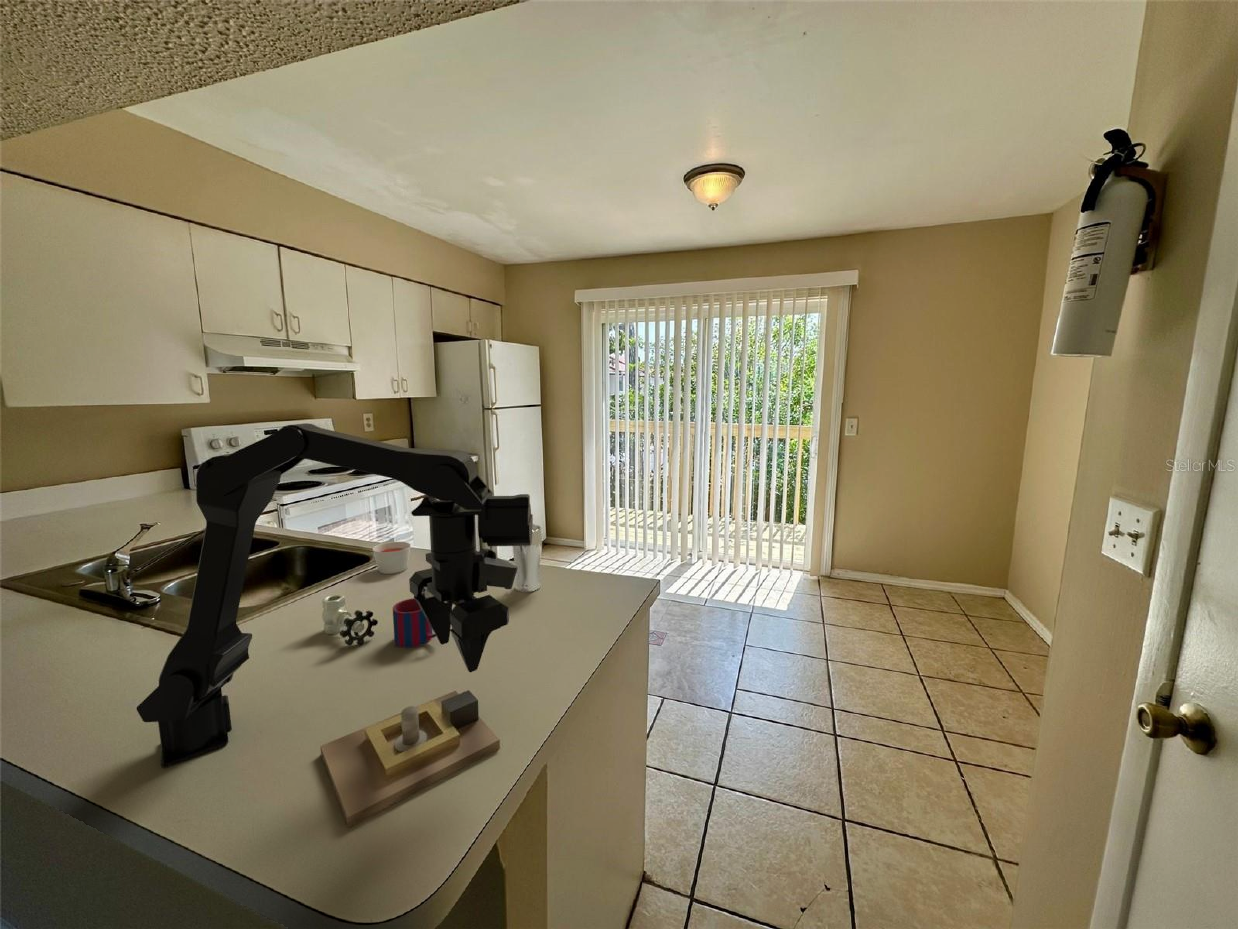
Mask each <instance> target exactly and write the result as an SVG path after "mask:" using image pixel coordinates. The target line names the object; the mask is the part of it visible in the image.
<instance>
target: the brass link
mask: <svg viewBox="0 0 1238 929" xmlns="http://www.w3.org/2000/svg"><path fill="white" fill-rule="evenodd" d="M426 703H427V702H426ZM421 705H422V704H421ZM416 707H417V706H416ZM417 708H418V720H419V724H420V723H422V722H425V721H428V722H429V724H430V725H431V726H432V728H433V729H434V730H435V732H436V733H437V735H438V736H437V737H435V738H433V739H431V740H428V741H426V742H424V743H422V744H420V745H418V746H415V747H413V748H411V749H409V750H407V751H404V752H402V753H400V754H398V755H396V756H395V755H394V753H393V751H392V749H391V748H390V746H389V744H388V742H387V741H386V739H385V738H388V737H390V736H392V735H394V734H397V733H399V732H401V731H402V719H401V714H400V713H399V714H400V715H398V716H395V715H394V716H395V717H393V718H391V719H388V720H386V721H383V720H382V721H383V722H381V723H378V722H377V723H378V724H376V725H373V724H372V725H373V726H371V727H369V728H366V727H365V728H366V729H365V739H366V741H367V743H368V745H369V747H370V749H371V751H372V753H373V755H374V757H375V759H376V761H377V763H378V765H379V767H380V769H381V771H382V773H383V775H384V777H385V779H386V781H387V780H389V779H391V778H393V777H395V776H397V775H399V774H401V773H403V772H405V771H407V770H409V769H411V768H413V767H415V766H418V765H420V764H422V763H424V762H426V761H428V760H430V759H432V758H434V757H436V756H438V755H440V754H442V753H444V752H446V751H448V750H450V749H452V748H454V747H457V746H459V745H460V734H459V733H458V731H457V729H460V728H462V727H464V726H466V725H468V724H470V723H472V722H475V721H477V720H479V717H480V716H479V700H478V698H477V697H476V696H475V695H474V694H473V693H472V692H471V690H468V689H467V690H466V691H463V692H461V693H458V695H456V696H453V697H451V698H448V699H446V700H443V701H441V708H442V711H441V710H440V709H439V707H438V706H437V705H436V704H435V702H434V701H432V702H430V703H427V704H425V705H422V706H420V707H417Z"/></svg>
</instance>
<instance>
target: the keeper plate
mask: <svg viewBox="0 0 1238 929" xmlns="http://www.w3.org/2000/svg"><path fill="white" fill-rule="evenodd" d="M458 694H459V693H458V691H456V690H454V691H451V692H449V693H447V694H443V695H442V696H441V695H440V696H439V697H437V698H434V699H431V700H429V701H427V702H425V703H421V704H420V705H417V706H414V705H413V706H408V707H405V708H404V709H402V710H401V712H400V713H397V714H395V715H393V716H390V717H388V718H386V719H383V720H380V721H378V722H376V723H373V724H371V725H368V726H366V727H364V728H360V729H359V730H356V731H354V732H351V733H348V734H346V735H343V736H341V737H339V738H337V739H334V740H332V741H329V742H327V743H324V744H322V745H320V755H321V758H322V760H323V763H324V766H325V769H326V771H327V774H328V776H329V779H330V782H331V786H332V788H333V790H334V792H335V795H336V798H337V801H338V803H339V806H340V809H341V811H342V813H343V817H344V819H345V823H346V825H347V827H348V828H349V827H351V826H354V825H355V824H357V823H358V824H359V822H361V821H363V820H365V819H366V818H369V817H371V816H373V815H375V814H376V813H379V812H380V811H382V810H384V809H385V808H388V807H390V806H391V804H392V805H393V803H394V802H396V803H397V801H398V802H399V801H401V800H403V799H406V798H407V797H409V796H411V795H412V794H415V793H416V791H417V792H418V791H420V790H422V789H424V788H426V787H428V786H430V785H432V784H434V783H436V782H437V781H438V782H439V780H441V779H443V778H445V777H448V776H449V775H451V774H453V773H454V772H457V771H458V770H461V769H462V768H465V767H466V766H468V765H470V764H472V763H473V762H476V761H477V760H479V759H481V758H484V757H485V756H487V755H489V754H491V753H492V752H495V751H497V750H498V749H500V748H501V740H500V738H499V737H498V736H497V735H496V734H495V733H494V731H493V730H492V729H491V728H490V727H489V726H488V725H487V723H486V722H485V721H484V720H482V718H481V717H480V716H479V720H477V721H475V722H472V723H470V724H468V725H466V726H464V727H462V728H460V729H457V731H458V733H459V734H460V745H459V746H457V747H454V748H452V749H450V750H448V751H446V752H444V753H442V754H440V755H438V756H436V757H434V758H432V759H430V760H428V761H426V762H424V763H422V764H420V765H418V766H415V767H413V768H411V769H409V770H407V771H405V772H403V773H401V774H399V775H397V776H395V777H393V778H391V779H389V780H387V781H386V779H385V777H384V775H383V773H382V771H381V769H380V767H379V765H378V763H377V761H376V759H375V757H374V755H373V753H372V751H371V749H370V747H369V745H368V743H367V741H366V739H365V729H366V728H369V727H371V726H373V725H376V724H378V723H381V722H383V721H386V720H388V719H391V718H393V717H395V716H398V715H400V714H401V719H402V731H401V732H399V733H397V734H394V735H392V736H390V737H388V738H385V739H386V741H387V742H388V744H389V746H390V748H391V749H392V751H393V753H394V755H395V756H396V755H398V754H400V753H402V752H404V751H407V750H409V749H411V748H413V747H415V746H418V745H420V744H422V743H424V742H426V741H428V740H431V739H433V738H435V737H437V736H438V735H437V733H436V732H435V730H434V729H433V728H432V726H431V725H430V724H429V722H428V721H425V722H422V723H420V724H419V720H418V708H417V707H420V706H422V705H425V704H427V703H430V702H432V701H434V702H435V704H436V705H437V706H438V707H439V709H440V710H441V711H442V708H441V701H443V700H446V699H448V698H451V697H453V696H456V695H458ZM394 804H395V803H394ZM389 805H390V806H389ZM387 806H388V807H387ZM383 808H384V809H383ZM381 809H382V810H381ZM374 813H375V814H374Z"/></svg>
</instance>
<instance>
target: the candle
mask: <svg viewBox="0 0 1238 929" xmlns="http://www.w3.org/2000/svg"><path fill="white" fill-rule="evenodd" d="M372 552H373V555H374V559H375V563H376V567H377V570H378V572H379V573H380V574H384V575H392V574H398V573H401V572H404V571H405V570H407V569H408V565H409V558H410V552H411V543H410V542H406V541H388V542H383V543H380V544H377V545H375V546H374V547H373V548H372Z"/></svg>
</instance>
